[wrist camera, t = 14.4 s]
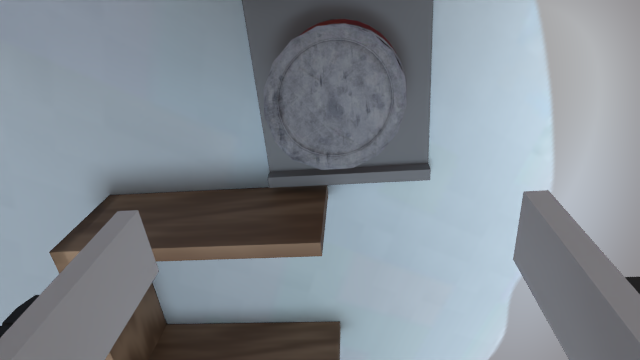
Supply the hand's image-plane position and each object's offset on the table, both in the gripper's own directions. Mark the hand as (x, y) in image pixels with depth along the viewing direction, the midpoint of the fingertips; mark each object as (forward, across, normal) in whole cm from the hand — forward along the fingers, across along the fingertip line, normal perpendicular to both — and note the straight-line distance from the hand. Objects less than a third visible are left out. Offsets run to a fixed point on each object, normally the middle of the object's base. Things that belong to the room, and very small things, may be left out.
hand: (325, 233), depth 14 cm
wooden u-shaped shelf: (+22, -12, -19) cm, 31 cm away
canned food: (+21, 0, 0) cm, 21 cm away
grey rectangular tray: (+22, 0, 0) cm, 22 cm away
